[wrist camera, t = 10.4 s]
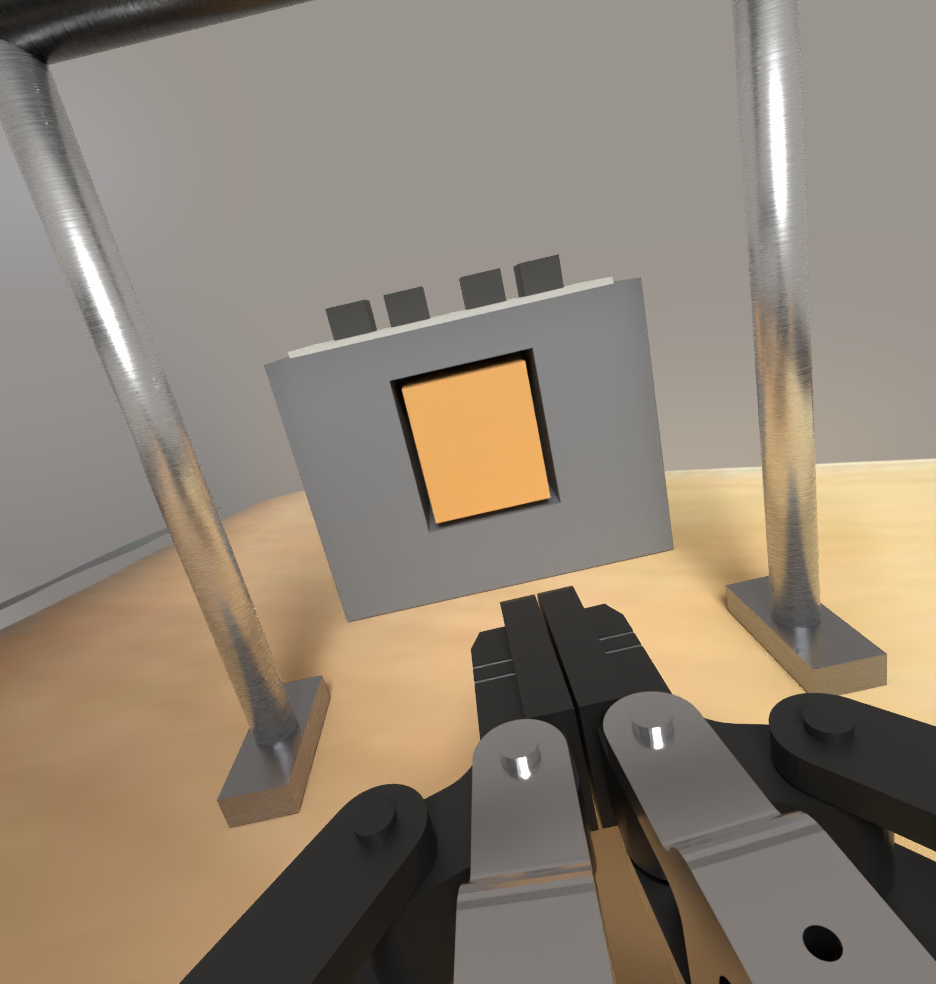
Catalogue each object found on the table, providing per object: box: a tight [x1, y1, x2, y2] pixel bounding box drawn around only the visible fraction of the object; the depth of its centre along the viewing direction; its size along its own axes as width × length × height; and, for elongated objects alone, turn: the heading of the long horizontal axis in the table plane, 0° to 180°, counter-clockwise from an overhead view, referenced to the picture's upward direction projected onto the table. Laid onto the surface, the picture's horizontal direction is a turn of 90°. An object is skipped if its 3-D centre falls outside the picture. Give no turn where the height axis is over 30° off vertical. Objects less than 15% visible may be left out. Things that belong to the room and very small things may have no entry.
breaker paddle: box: [402, 353, 551, 523], centre depth 31 cm, size 6×5×7 cm
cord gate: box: [0, 0, 887, 828], centre depth 18 cm, size 22×6×25 cm, turn 93°
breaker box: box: [264, 255, 674, 622], centre depth 33 cm, size 18×8×16 cm, turn 93°
